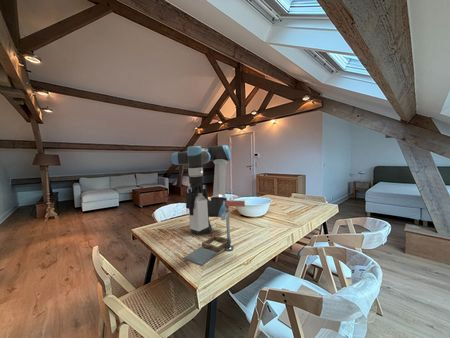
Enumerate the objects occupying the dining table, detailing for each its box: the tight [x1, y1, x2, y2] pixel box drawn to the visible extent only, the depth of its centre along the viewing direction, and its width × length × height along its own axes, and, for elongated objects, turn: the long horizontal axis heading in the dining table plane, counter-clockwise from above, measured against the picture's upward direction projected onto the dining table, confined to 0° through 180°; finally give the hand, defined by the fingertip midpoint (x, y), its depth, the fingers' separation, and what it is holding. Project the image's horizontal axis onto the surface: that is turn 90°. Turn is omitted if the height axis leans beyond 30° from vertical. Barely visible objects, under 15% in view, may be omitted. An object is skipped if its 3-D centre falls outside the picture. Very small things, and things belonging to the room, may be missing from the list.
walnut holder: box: [201, 234, 232, 253], centre depth 111 cm, size 12×12×2 cm
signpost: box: [220, 199, 246, 248], centre depth 100 cm, size 12×12×27 cm
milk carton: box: [188, 193, 209, 231], centre depth 98 cm, size 7×7×19 cm
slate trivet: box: [183, 246, 219, 266], centre depth 100 cm, size 13×13×1 cm
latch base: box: [224, 245, 235, 252], centre depth 106 cm, size 5×5×1 cm
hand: (198, 218), depth 98 cm, fingers closed on milk carton, 7 cm apart
